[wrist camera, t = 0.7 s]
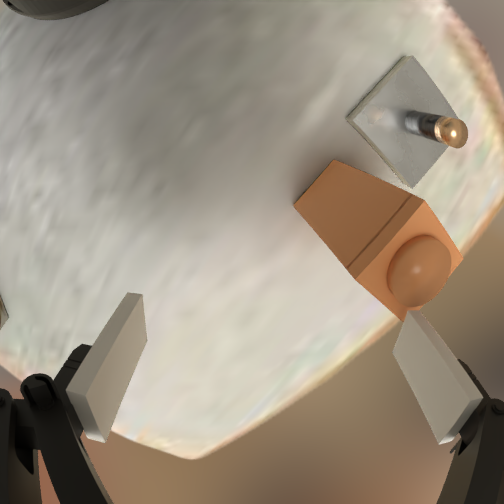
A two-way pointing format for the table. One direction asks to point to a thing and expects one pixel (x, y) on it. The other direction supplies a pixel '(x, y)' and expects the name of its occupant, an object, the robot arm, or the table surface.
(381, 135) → the junction plate
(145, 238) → the table surface
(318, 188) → the orange capped block
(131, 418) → the table surface
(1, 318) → the coffee box
